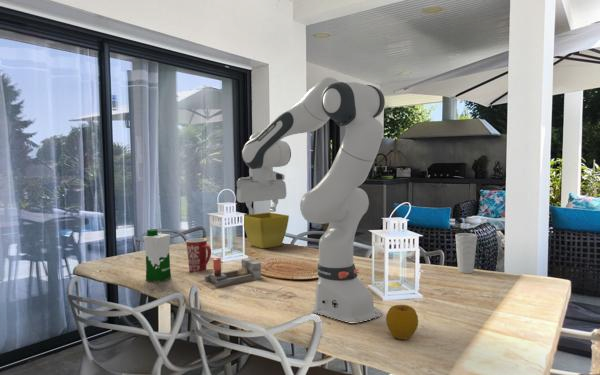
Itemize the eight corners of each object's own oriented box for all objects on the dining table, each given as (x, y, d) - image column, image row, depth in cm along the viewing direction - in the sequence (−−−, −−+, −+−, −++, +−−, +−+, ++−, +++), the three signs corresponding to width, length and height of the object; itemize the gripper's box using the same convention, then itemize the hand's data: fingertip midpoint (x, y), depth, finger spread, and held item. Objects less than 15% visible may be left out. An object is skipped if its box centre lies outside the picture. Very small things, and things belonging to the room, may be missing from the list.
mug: (182, 271, 188) (181, 240, 187) (199, 266, 195) (198, 237, 194) (201, 276, 181) (200, 243, 180) (218, 271, 188) (217, 240, 187)
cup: (455, 273, 178) (455, 236, 176) (454, 268, 186) (454, 232, 185) (477, 275, 175) (478, 237, 174) (475, 269, 183) (476, 233, 182)
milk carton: (156, 275, 183) (154, 228, 181) (174, 276, 180) (172, 228, 179) (142, 280, 175) (140, 231, 173) (161, 282, 172) (159, 232, 170)
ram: (226, 283, 164) (225, 259, 163) (216, 285, 162) (216, 261, 161) (218, 279, 170) (217, 256, 169) (209, 280, 167) (208, 257, 167)
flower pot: (269, 240, 252) (269, 212, 251) (290, 245, 238) (289, 215, 237) (242, 245, 240) (241, 215, 239) (261, 251, 226) (261, 218, 224)
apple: (403, 347, 111) (403, 314, 110) (378, 336, 118) (378, 305, 117) (424, 339, 116) (424, 306, 115) (400, 329, 123) (400, 298, 122)
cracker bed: (264, 282, 170) (264, 263, 169) (212, 293, 157) (212, 273, 156) (247, 274, 181) (246, 257, 181) (197, 284, 168) (196, 265, 168)
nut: (249, 277, 171) (249, 267, 171) (240, 279, 169) (240, 269, 169) (244, 275, 175) (244, 265, 174) (235, 277, 172) (235, 267, 172)
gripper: (241, 177, 155) (242, 216, 156) (288, 175, 167) (289, 210, 168) (232, 177, 160) (234, 214, 161) (278, 174, 172) (280, 209, 173)
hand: (262, 212), depth 164 cm, fingers open, 8 cm apart
